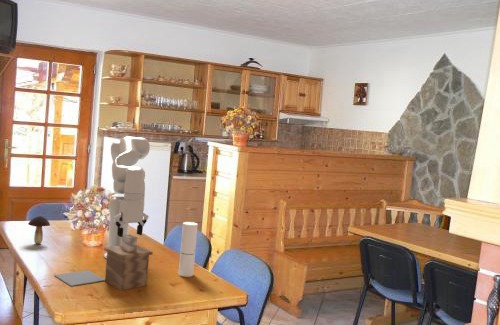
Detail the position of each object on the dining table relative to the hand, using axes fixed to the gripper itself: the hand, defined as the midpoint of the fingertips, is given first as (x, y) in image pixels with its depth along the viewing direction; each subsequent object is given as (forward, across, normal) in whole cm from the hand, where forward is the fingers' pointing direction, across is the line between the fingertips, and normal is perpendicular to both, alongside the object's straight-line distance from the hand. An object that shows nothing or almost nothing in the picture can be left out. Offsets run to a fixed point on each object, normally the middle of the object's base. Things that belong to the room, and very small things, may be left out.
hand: (129, 235), depth 224 cm
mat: (+22, +14, -16) cm, 30 cm away
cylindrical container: (+22, -32, +1) cm, 39 cm away
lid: (+8, 0, 0) cm, 8 cm away
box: (+22, 0, -1) cm, 22 cm away
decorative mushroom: (+21, +6, -79) cm, 82 cm away
